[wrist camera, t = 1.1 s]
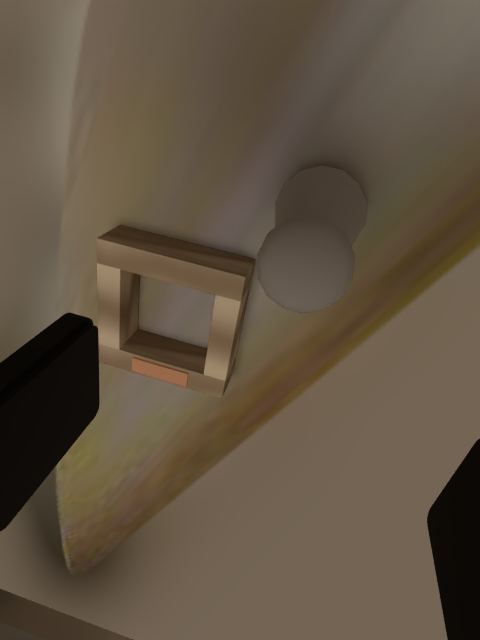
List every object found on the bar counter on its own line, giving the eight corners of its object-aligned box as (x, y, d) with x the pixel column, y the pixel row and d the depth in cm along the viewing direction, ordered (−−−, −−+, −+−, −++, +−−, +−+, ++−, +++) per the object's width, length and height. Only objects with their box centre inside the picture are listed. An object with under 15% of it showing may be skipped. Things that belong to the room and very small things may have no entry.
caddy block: (119, 225, 32) (95, 239, 29) (255, 259, 31) (244, 278, 28) (118, 341, 38) (98, 363, 35) (232, 374, 37) (221, 400, 34)
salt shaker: (378, 171, 26) (397, 227, 15) (350, 252, 29) (350, 349, 18) (290, 152, 27) (248, 192, 16) (272, 233, 30) (226, 315, 19)
